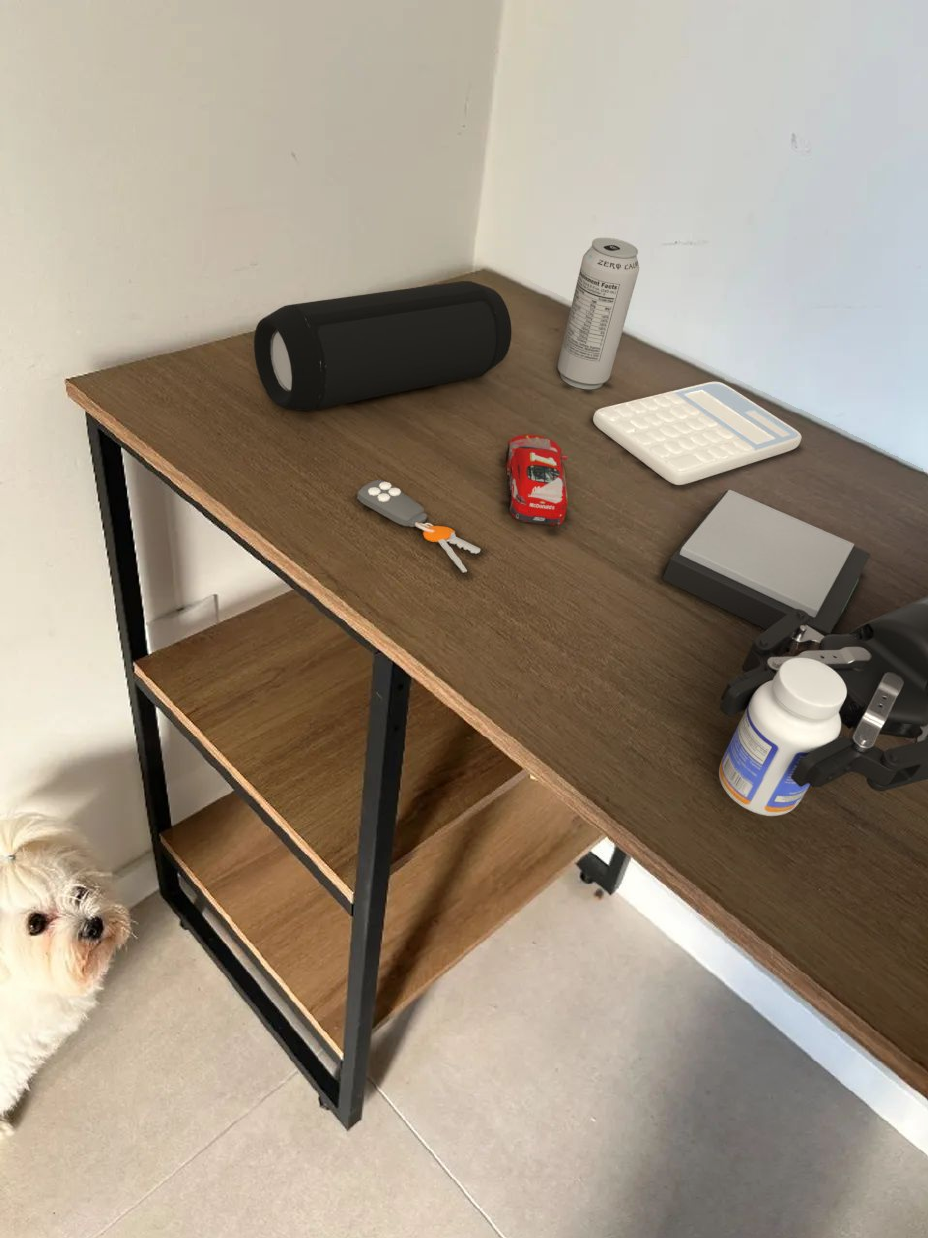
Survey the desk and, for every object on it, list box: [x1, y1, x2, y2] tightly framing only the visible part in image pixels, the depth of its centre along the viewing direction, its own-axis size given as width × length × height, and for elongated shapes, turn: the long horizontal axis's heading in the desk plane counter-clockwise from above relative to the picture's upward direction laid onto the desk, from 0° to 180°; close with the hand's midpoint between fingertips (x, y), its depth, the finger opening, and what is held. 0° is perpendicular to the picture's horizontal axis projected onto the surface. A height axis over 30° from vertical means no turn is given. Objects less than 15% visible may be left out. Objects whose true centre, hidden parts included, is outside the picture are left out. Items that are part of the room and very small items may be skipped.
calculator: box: [592, 381, 803, 486], centre depth 99 cm, size 13×20×2 cm, turn 125°
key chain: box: [356, 479, 481, 573], centre depth 79 cm, size 13×4×2 cm, turn 50°
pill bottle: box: [718, 658, 847, 817], centre depth 57 cm, size 5×5×10 cm
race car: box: [505, 434, 569, 527], centre depth 86 cm, size 13×5×4 cm, turn 178°
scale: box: [662, 489, 871, 651], centre depth 81 cm, size 14×14×3 cm
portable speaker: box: [253, 280, 513, 412], centre depth 94 cm, size 26×10×10 cm, turn 126°
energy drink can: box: [557, 236, 640, 390], centre depth 101 cm, size 6×6×15 cm
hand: (763, 736), depth 55 cm, fingers closed on pill bottle, 5 cm apart
